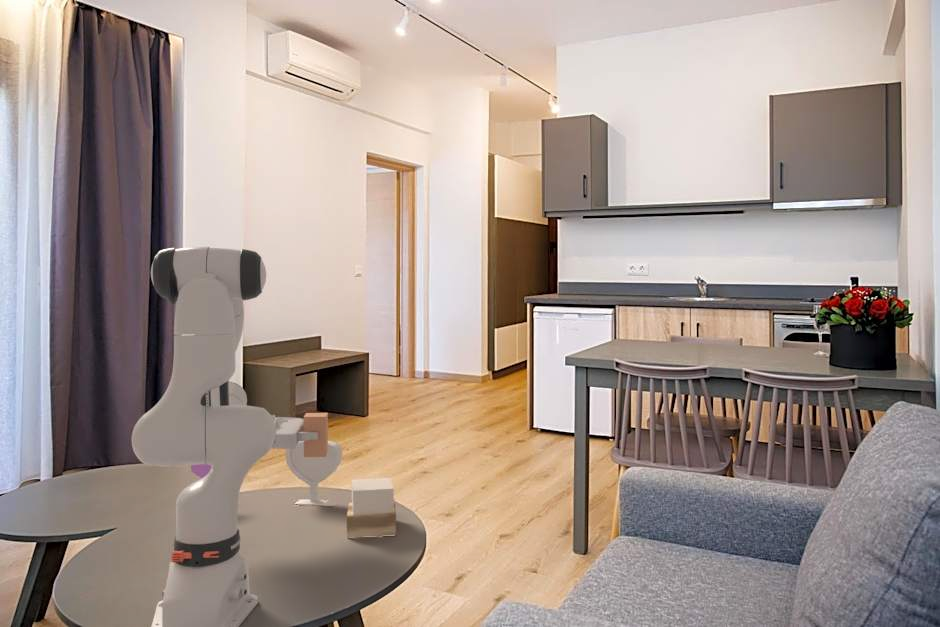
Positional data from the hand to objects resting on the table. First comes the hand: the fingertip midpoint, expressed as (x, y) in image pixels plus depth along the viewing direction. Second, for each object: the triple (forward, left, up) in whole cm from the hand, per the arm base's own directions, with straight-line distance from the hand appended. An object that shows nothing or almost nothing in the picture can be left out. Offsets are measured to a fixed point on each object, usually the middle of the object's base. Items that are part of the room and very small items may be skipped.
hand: (319, 432), depth 173 cm
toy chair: (+20, +32, -26) cm, 46 cm away
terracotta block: (0, +1, -5) cm, 6 cm away
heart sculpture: (+24, +4, -26) cm, 36 cm away
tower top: (+1, -13, -20) cm, 24 cm away
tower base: (+1, -13, -26) cm, 29 cm away
